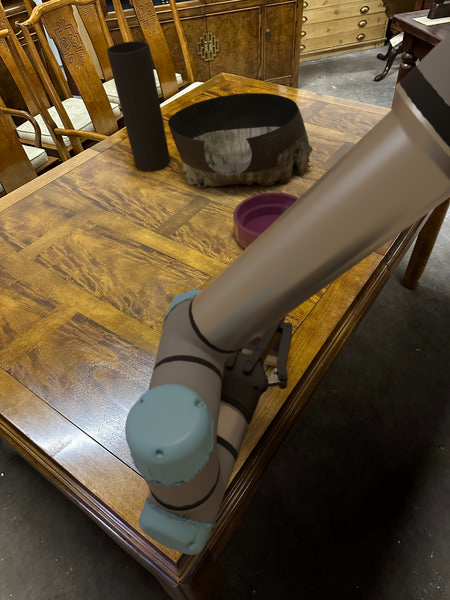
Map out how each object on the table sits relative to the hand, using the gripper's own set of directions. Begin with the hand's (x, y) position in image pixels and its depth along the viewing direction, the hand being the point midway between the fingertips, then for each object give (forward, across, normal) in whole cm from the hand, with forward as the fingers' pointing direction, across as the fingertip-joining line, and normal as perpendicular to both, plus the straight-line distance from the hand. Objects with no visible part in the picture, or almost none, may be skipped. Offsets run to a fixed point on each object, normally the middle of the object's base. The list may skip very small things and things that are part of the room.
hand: (274, 289), depth 67 cm
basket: (+51, -24, -10) cm, 57 cm away
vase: (+51, -52, -10) cm, 73 cm away
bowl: (+27, -8, -9) cm, 29 cm away
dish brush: (-5, 0, -10) cm, 11 cm away
